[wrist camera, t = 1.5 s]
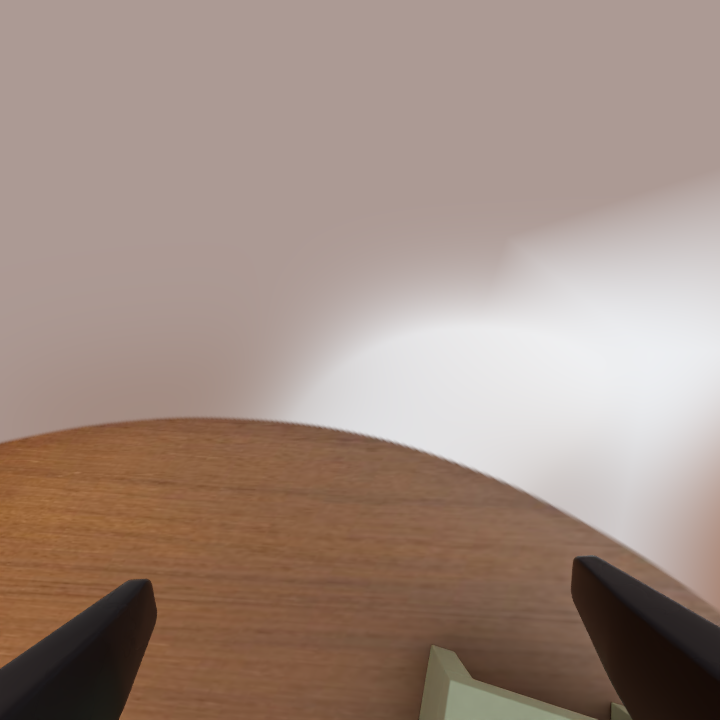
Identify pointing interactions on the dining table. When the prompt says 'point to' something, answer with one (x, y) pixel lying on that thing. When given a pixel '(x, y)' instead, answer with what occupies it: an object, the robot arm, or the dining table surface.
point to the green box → (484, 697)
